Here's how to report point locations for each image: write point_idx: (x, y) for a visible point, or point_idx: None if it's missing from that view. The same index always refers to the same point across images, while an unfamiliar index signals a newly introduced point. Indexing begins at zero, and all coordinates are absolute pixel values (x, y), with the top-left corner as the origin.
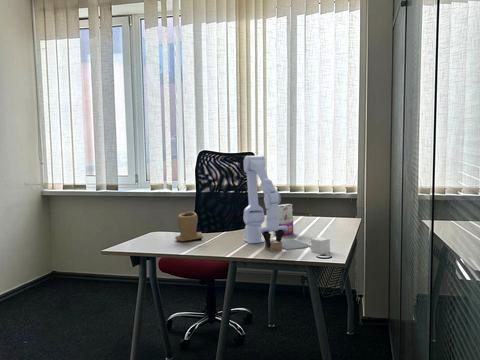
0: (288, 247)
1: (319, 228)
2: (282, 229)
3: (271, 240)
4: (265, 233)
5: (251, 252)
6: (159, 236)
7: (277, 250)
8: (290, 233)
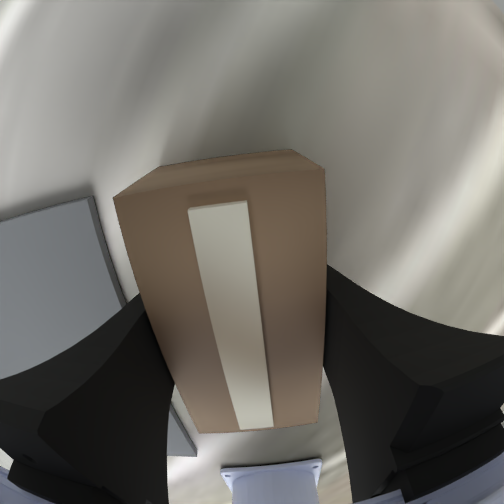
0: (59, 270)
1: (7, 466)
2: (19, 491)
3: (256, 380)
4: (488, 413)
5: (477, 238)
6: None
7: (226, 157)
8: None
